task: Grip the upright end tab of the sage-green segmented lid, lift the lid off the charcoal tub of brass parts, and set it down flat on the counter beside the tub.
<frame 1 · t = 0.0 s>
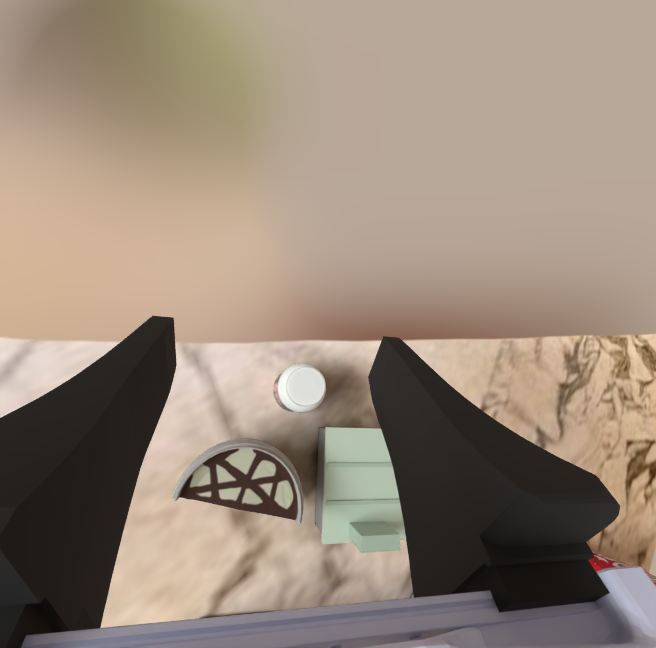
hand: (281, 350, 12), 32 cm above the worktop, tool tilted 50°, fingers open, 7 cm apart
soda can: (575, 571, 47), on the worktop
tub: (351, 473, 43), on the worktop
pill bottle: (293, 390, 44), on the worktop
lid: (365, 481, 38), point 5 cm above the worktop, touching tub
food container: (247, 460, 41), on the worktop
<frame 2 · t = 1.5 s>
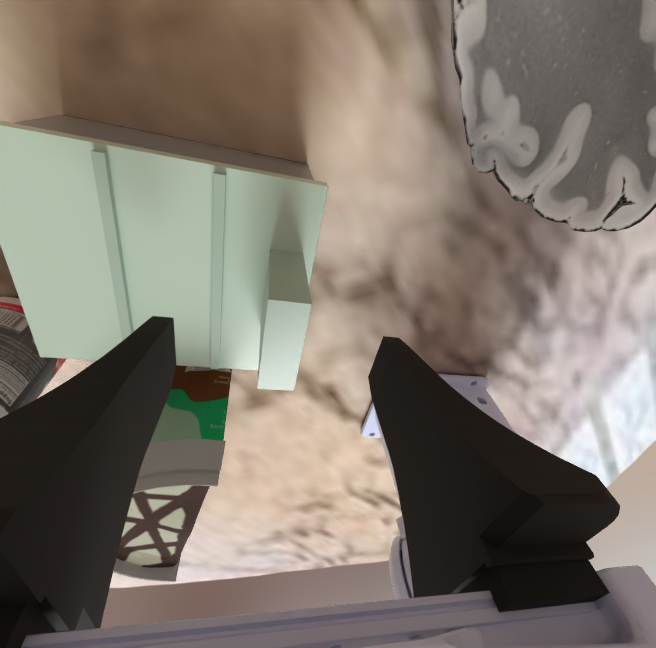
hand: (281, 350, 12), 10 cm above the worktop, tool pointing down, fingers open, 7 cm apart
brain slice: (632, 32, 16), on the worktop
tub: (195, 231, 19), on the worktop
pill bottle: (27, 329, 21), on the worktop
lid: (173, 273, 15), point 5 cm above the worktop, touching tub
food container: (177, 391, 26), on the worktop
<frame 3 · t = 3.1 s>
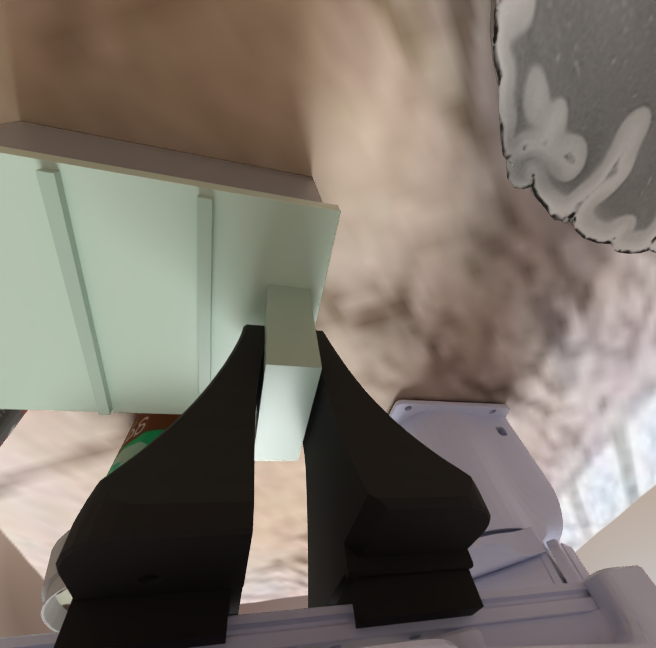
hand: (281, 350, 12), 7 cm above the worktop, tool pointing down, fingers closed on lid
tub: (182, 254, 16), on the worktop
lid: (152, 311, 12), point 5 cm above the worktop, touching gripper, tub
food container: (166, 424, 23), on the worktop
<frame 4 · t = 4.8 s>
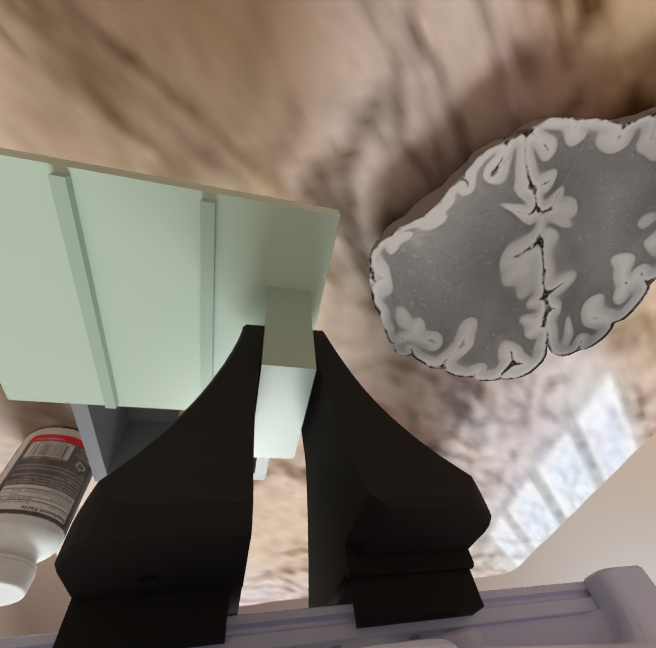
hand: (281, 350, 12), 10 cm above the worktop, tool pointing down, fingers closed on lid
brain slice: (512, 253, 23), on the worktop
tub: (197, 381, 25), on the worktop
pill bottle: (67, 443, 27), on the worktop
lid: (158, 310, 13), point 8 cm above the worktop, touching gripper
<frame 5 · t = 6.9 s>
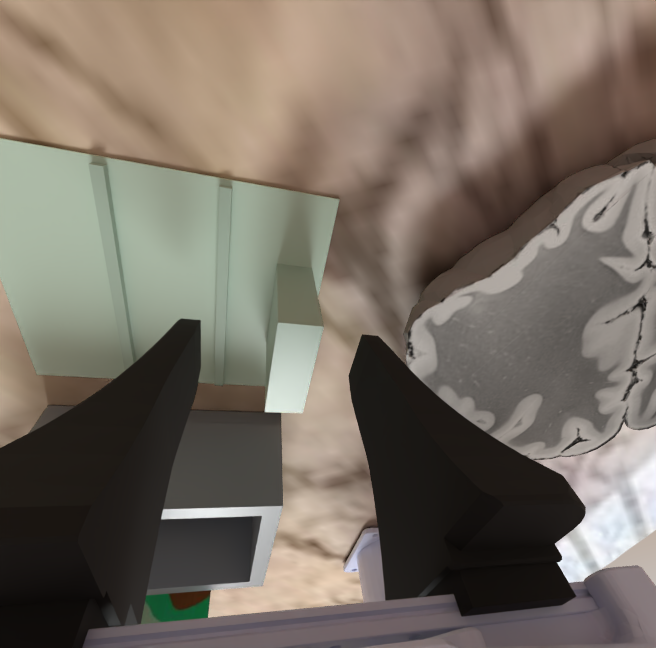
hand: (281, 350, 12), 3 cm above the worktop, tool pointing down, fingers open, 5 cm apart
brain slice: (583, 304, 17), on the worktop
tub: (176, 461, 20), on the worktop
lid: (176, 288, 14), on the worktop
food container: (164, 554, 27), on the worktop
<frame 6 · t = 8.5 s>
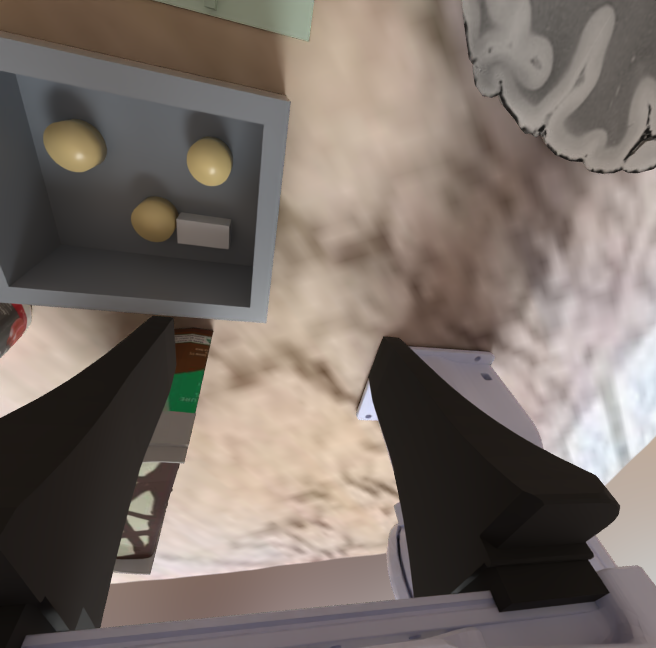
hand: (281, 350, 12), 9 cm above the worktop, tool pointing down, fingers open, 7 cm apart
tub: (161, 179, 16), on the worktop
food container: (154, 369, 24), on the worktop
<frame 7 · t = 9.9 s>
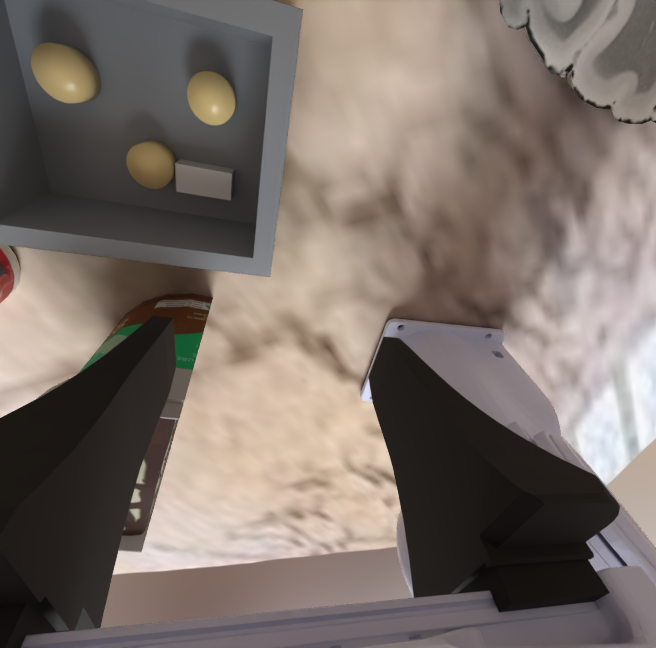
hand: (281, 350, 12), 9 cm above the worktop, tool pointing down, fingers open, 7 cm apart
tub: (159, 122, 15), on the worktop
food container: (149, 340, 22), on the worktop
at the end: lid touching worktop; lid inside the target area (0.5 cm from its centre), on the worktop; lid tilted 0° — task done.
